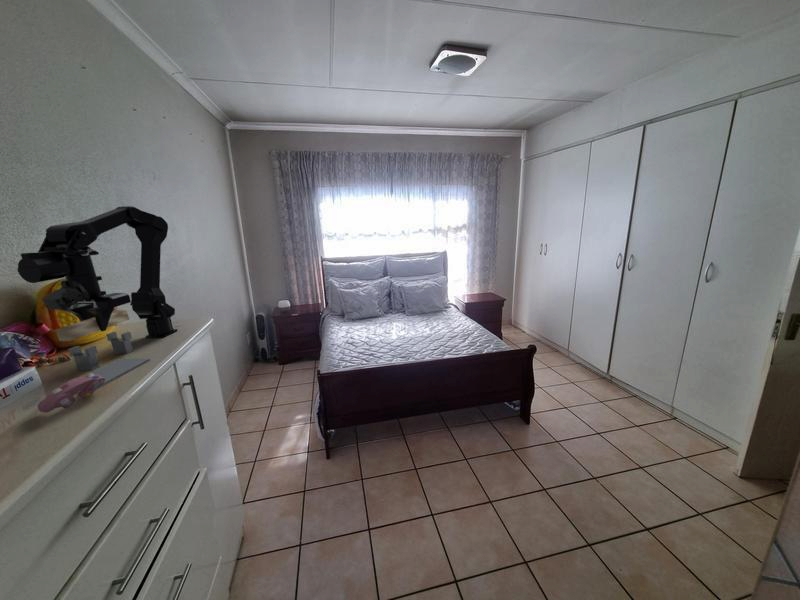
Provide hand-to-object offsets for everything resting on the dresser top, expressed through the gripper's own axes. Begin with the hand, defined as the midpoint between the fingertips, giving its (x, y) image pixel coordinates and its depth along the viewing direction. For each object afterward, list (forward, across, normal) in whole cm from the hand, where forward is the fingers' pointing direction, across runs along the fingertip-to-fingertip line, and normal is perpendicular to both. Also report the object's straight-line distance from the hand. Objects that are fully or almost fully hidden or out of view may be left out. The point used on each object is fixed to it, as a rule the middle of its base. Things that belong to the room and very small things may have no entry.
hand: (98, 330), depth 85 cm
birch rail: (0, 0, 0) cm, 0 cm away
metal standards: (+9, 0, 0) cm, 9 cm away
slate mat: (+9, +8, -8) cm, 15 cm away
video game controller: (+9, +14, -20) cm, 26 cm away
